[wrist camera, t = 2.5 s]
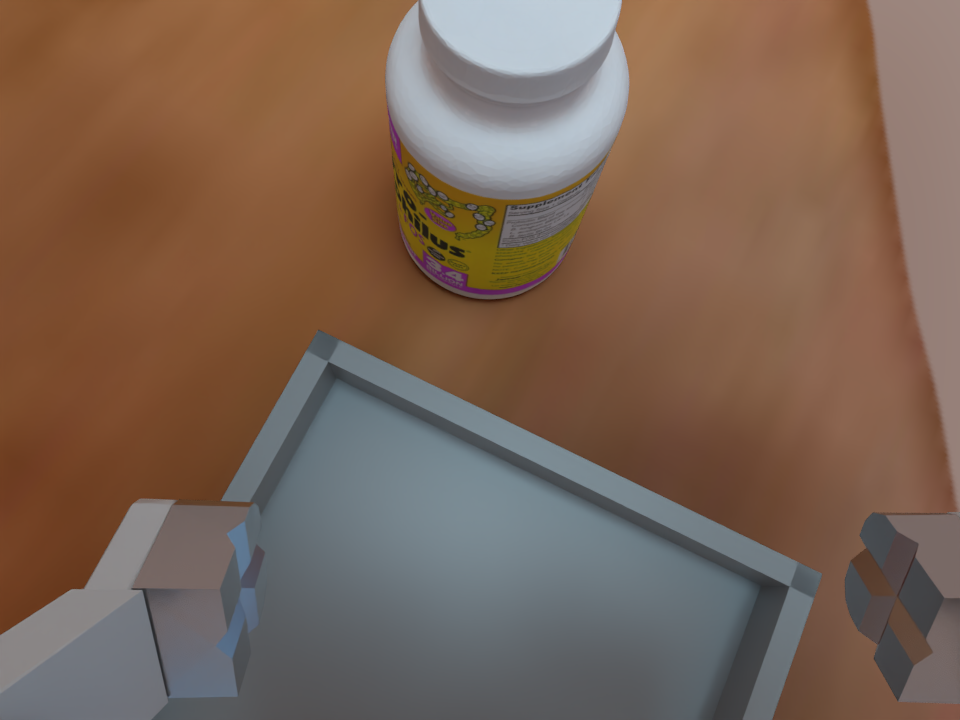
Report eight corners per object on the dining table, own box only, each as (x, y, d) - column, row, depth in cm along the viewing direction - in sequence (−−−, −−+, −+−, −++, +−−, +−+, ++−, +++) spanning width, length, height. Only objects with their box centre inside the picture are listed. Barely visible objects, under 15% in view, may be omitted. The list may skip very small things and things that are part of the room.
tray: (87, 787, 25) (40, 816, 22) (330, 354, 29) (318, 329, 26) (603, 1067, 23) (627, 1137, 20) (781, 574, 27) (822, 574, 24)
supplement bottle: (372, 181, 30) (328, -88, 18) (527, 123, 32) (585, -170, 19) (441, 334, 29) (446, 154, 17) (602, 267, 30) (717, 51, 18)
